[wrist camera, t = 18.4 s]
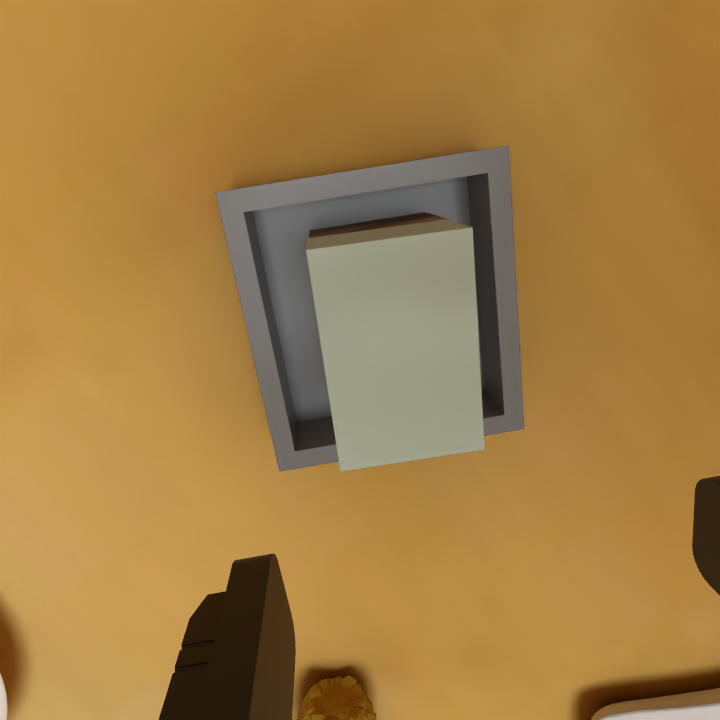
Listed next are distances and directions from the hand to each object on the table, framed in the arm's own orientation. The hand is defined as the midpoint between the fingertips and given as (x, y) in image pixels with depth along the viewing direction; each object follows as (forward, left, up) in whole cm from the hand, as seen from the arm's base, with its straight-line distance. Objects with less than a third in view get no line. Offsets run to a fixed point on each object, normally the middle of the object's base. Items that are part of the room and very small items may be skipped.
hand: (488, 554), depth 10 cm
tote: (0, 0, -21) cm, 21 cm away
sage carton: (0, 0, -15) cm, 15 cm away
